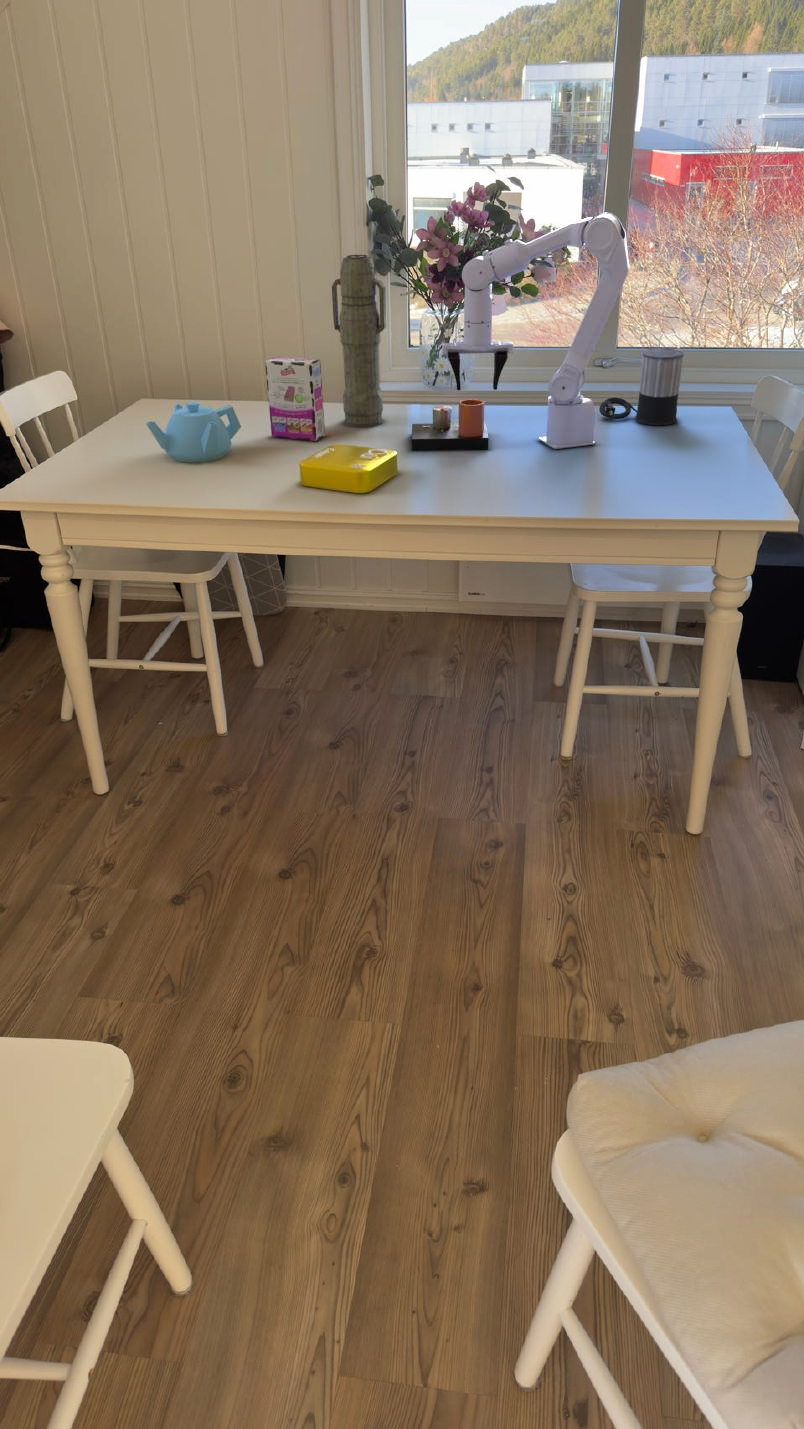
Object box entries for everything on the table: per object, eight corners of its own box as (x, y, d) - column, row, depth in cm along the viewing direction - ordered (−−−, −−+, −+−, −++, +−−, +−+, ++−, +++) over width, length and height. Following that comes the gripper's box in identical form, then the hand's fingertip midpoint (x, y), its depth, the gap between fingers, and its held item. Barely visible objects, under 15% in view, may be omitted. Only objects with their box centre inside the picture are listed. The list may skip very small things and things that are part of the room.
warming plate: (485, 432, 225) (485, 420, 224) (488, 449, 214) (488, 437, 212) (412, 433, 226) (412, 421, 224) (411, 451, 214) (411, 438, 213)
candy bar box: (326, 436, 225) (321, 358, 217) (316, 442, 221) (311, 363, 213) (281, 431, 229) (275, 355, 221) (270, 437, 225) (263, 360, 217)
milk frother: (684, 424, 228) (692, 355, 220) (618, 430, 225) (624, 360, 217) (656, 409, 240) (663, 342, 232) (593, 414, 237) (598, 347, 229)
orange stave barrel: (477, 429, 219) (478, 398, 215) (487, 435, 214) (488, 404, 211) (454, 431, 217) (455, 400, 214) (464, 438, 213) (464, 406, 209)
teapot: (218, 467, 207) (212, 414, 201) (149, 464, 210) (142, 410, 205) (245, 446, 220) (240, 395, 214) (180, 443, 223) (174, 392, 217)
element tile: (334, 464, 207) (333, 440, 205) (401, 472, 202) (400, 448, 199) (296, 485, 196) (294, 461, 193) (366, 495, 190) (365, 470, 188)
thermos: (385, 427, 230) (380, 258, 212) (334, 426, 232) (325, 258, 214) (392, 417, 238) (388, 253, 220) (343, 416, 239) (335, 253, 222)
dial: (432, 424, 222) (432, 404, 220) (451, 424, 222) (451, 404, 220) (432, 429, 219) (432, 409, 217) (451, 429, 219) (451, 408, 217)
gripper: (443, 325, 206) (443, 394, 213) (515, 324, 206) (512, 392, 213) (442, 319, 212) (442, 386, 219) (512, 317, 212) (509, 385, 219)
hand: (476, 389), depth 216 cm, fingers open, 7 cm apart
